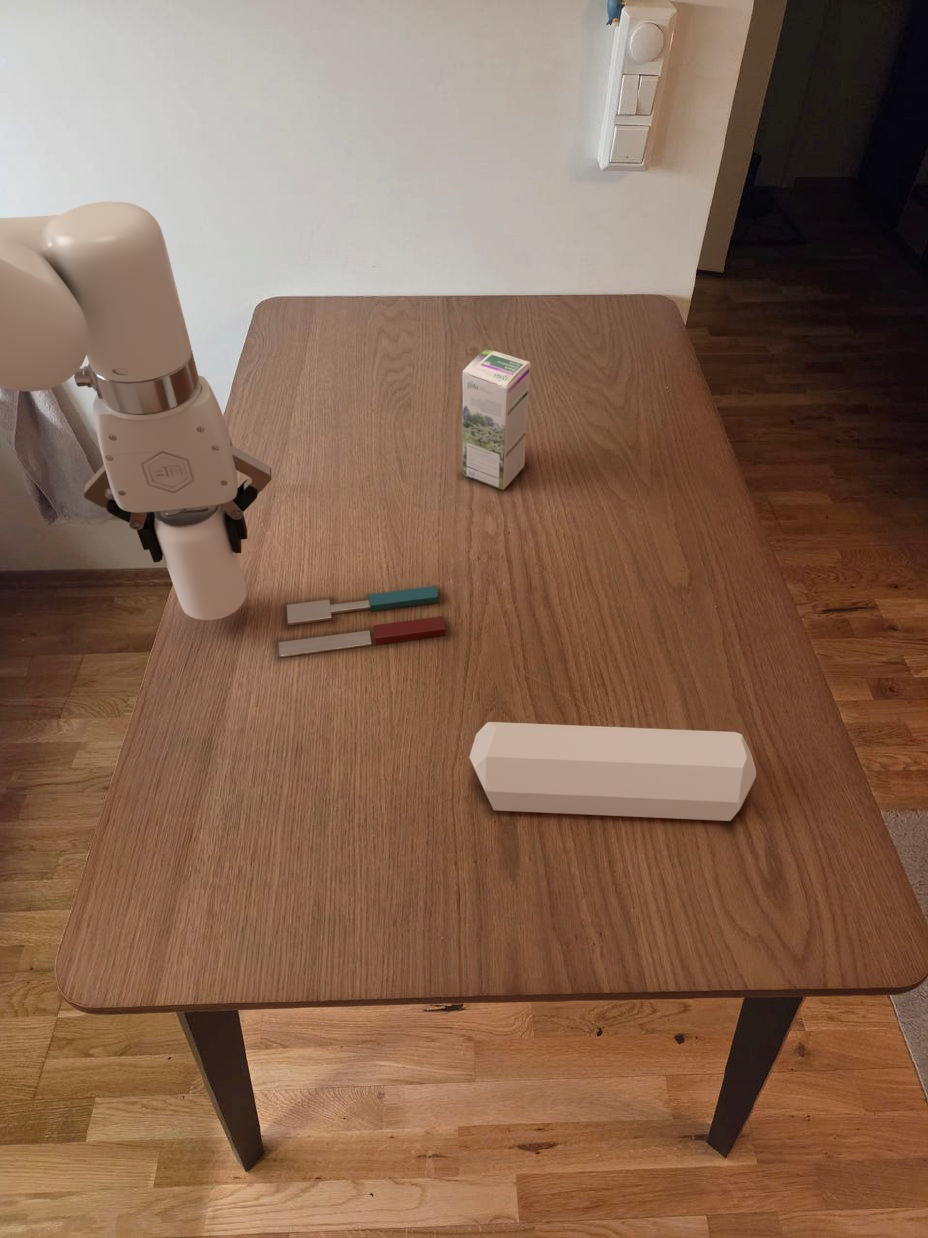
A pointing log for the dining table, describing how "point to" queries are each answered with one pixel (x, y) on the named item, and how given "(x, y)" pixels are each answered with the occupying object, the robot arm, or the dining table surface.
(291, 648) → the knife
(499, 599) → the dining table surface
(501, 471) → the syrup box
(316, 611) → the teal handled spatula
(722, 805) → the crystal
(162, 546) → the can
